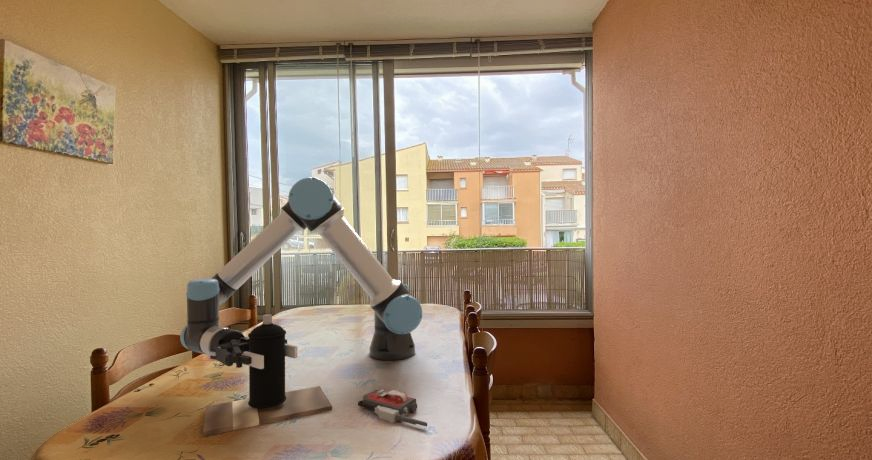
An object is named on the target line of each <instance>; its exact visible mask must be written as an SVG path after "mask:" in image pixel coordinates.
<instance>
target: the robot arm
mask: <svg viewBox="0 0 872 460" xmlns="http://www.w3.org/2000/svg"><path fill="white" fill-rule="evenodd" d="M333 192H334V191H332V188H331V186H330V185H329V184H328V183H327V182H326V181H325V180H322V179H320V178H318V177H313V176H312V177H305V178H301V179H300V180H298V181H296V182H294V184H293V185H292V187H291V189H289V193H288V200H287V202H286V203H285V204H284V205H283V206H281V208H280V212H279V215H277V216H276V217H275V218H274V219H273V220H272V221H271V222H270V223H269V224H268V225H267V226H265V228H264V229H262V230H261V231H260V232H259V233H258V234H257V235H256V236H255V237H254V238H253V239H252V240H251V241H250V242H249V243H248V244H246V246H244V247H243V248H242V249H241V250H240V251H239V252H238V253H237V254H236V255H235V256H234V257H232V258H231V259H230V261H228V263H226V264H225V265H224V266H223V267H222V268H221V269H220V270H219V271H218V272H217V273H215V275H213V276H212V277H211V278H197V279H192V280H191V279H190V280H189V281H188V282H187V286H186V293H185V295H186V312H187V316H186V317H187V318H186V321H187V322H186V325H185V326H184V327H183V328H182V331H181V333H180V335H179V338H180V343H181V345H182V346H183V347H184V348H186V349H187V350H189V351H191V352H194V353H199V354H202V355H203V354H204V355H207V356H209V357H210V358H209V359H210V360H216V361H218V362H220V363H221V364H222V365H225V366H227V367H232V366H233V364H235V365H236V367H235V368H237V369H239V368H243V365H245V366H247V367H248V366H251V367H255V368H258V369H263V368H264V356H263V355H259V354H255V353H251V352H249V337H248V336H246V337H245V334H243V332H242V331H240V330H238V329H233V328H229V327H226V326H220V306H222V305H223V304H225V303H226V302H227V301H228V299H229V298H231V296H232V295H233V294H234V293H235V292H237V290H239V288H241V286H242V285H244V284H245V283H246V282H247V281H248V280H249V279H250V278H251V277H252V276H253V275H254V274H255V273H256V272H257V271H258V270H259V269H260V268H261V267H262V266H264V265H265V264H266V263H267V262H268V261H269V260H270V259H271V258H272V257H273V256H274V255H275V254H276V253H277V252H278V251H279V250H280V249H282V247H283V246H284V245H286V244H287V242H288V241H290V240H291V239H292V238H293V237H294V236H295V235H296V234H297V233H298V232H300V231H303V232H304V231H305V230H306V229H308V231H309V232H310V233H312V234H318V235H319V236H320V237H321V238H322V239H323V241H324V242H325V243H326V244H327V246H328V247H329V248H330V249H331V251H332V252H333V253H334V255H335V256H336V257H337V258H338V259H339V261H341V263H342V264H343V266H344V267H345V268H346V269H347V271H348V272H349V273H350V274H351V275H352V277H353V278H354V279H355V280H356V282H357V283H358V284H359V285H360V288H362V289H363V290H364V292H365V293H366V294H367V295H368V297H369V305H368V306H369V307H371V308H372V310H373V313H374V316H373V317H374V332H373V335H372V339H371V343H370V345H369V356H370V357H371V358H373V359H377V360H383V361H396V360H403V359H407V358H410V357H413V356H414V355H415V354H416V345H415V342H414V339H413V336H412V332H413V331H415V330H416V329H417V328H418V326H419V325H420V324H421V322H422V318H423V308H422V305H421V303H420V301H419V300H418V299H417V298H416V297H415V296H413V295H412V294H411V292H410V288H409V284H406V283H405V284H403V282H402V281H401V280H400V279H394V278H392V276H391V274H389V272H388V271H387V270H386V269H385V268H384V266H383V265H382V263H381V262H380V261H379V260H378V258H377V257H376V256H375V255H374V253H373V252H372V250H371V249H370V248H369V247H368V246H367V244H366V243H365V242H364V241H363V239H362V238H361V236H359V234H358V233H357V232H356V230H355V229H354V227H353V226H352V225H351V224H350V223H349V221H348V220H347V218H346V217H345V216H344V211H345V207H344V206H343V205H342V203H340V201H339V199H337V197H336V195H335V194H334V193H333ZM285 357H288V358H290V359H291V358H292V359H297V358H298V346H297V345H293V344H289V343H288V339H286V338H285Z"/></svg>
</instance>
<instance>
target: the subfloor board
mask: <svg viewBox="0 0 872 460" xmlns="http://www.w3.org/2000/svg"><path fill="white" fill-rule="evenodd" d="M285 395H286V400H285V401H284V402H283V403H282V404H280V405H278V406H275V407H271V408H263V409H258V408H252V407H250V406H249V405H248V402H249V398H245V399H244V398H243V399H239V400H232V401H227V402H222V403H217V404H210V405H205V412H204V420H203V427H202V437H209V436H212V435H217V434H222V433H223V434H224V433H227V432H232V431H237V430H241V429H247V428H252V427H256V426H261V425H267V424H271V423H277V422H280V421H286V420H291V419H295V418H301V417H304V416H305V417H307V416H311V415H315V414H319V413H320V414H321V413H325V412H330V411H333V405H332V403H331V402H330V400H329V398H328V397H327V395H326V394H325V392H324V391H323V389H322V387H321V385H317V386H313V387H307V388H301V389H295V390H294V389H293V390H290V391H285Z"/></svg>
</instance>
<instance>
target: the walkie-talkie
mask: <svg viewBox="0 0 872 460" xmlns="http://www.w3.org/2000/svg"><path fill="white" fill-rule="evenodd" d="M357 406H358V407H361V408H363V410H364V411H368V412H371V413H375V414H377V417H378V419H380V420H383V421H386V422H390V423H396V422H404V423H407V424H411V425H419V426H423V427H428V422H426V421H422V420H420V419H416V418H411V417H408V415H410V414H411V413H416V411H417V409H418V404H417V398H414V397H412V396H411V397H410V396H408V394H407V393H405V392H402V391H398V390H394V389H392V390H390V391H385V389H384V388H383V389H374V390H372V391H370V392H368V393H367V394H365V395H363V396H362V400H359V401H357Z"/></svg>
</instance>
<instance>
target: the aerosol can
mask: <svg viewBox="0 0 872 460" xmlns="http://www.w3.org/2000/svg"><path fill="white" fill-rule="evenodd" d="M286 334H287V331H286V330H285V329H284V328H283V327H282V326H281V325H279V324H276V323H275V324H274V323H273V315H272V314H267V313H266V314H263V315H262V324H260V325H257V326H256V327H254V328H253V329H252V330H251V331H250V332H249V333H248V335H247V337H248V338H249V352H251V353H255V354H259V355H263V356H264V368H263V369H258V368H255V367H251V366H249V367H248V368H249V370H248V373H249V375H248V376H249V379H248V381H249V383H248V384H249V387H248V388H249V389H248V390H249V393H248V394H249V395H248V396H249V397H248V399H249V402H248V405H249V406H250V407H252V408H258V409H263V408H271V407H275V406H278V405H280V404H282V403H283V402H284V401H285V400H286V395H285V392H286V356H285V339H286Z"/></svg>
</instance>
